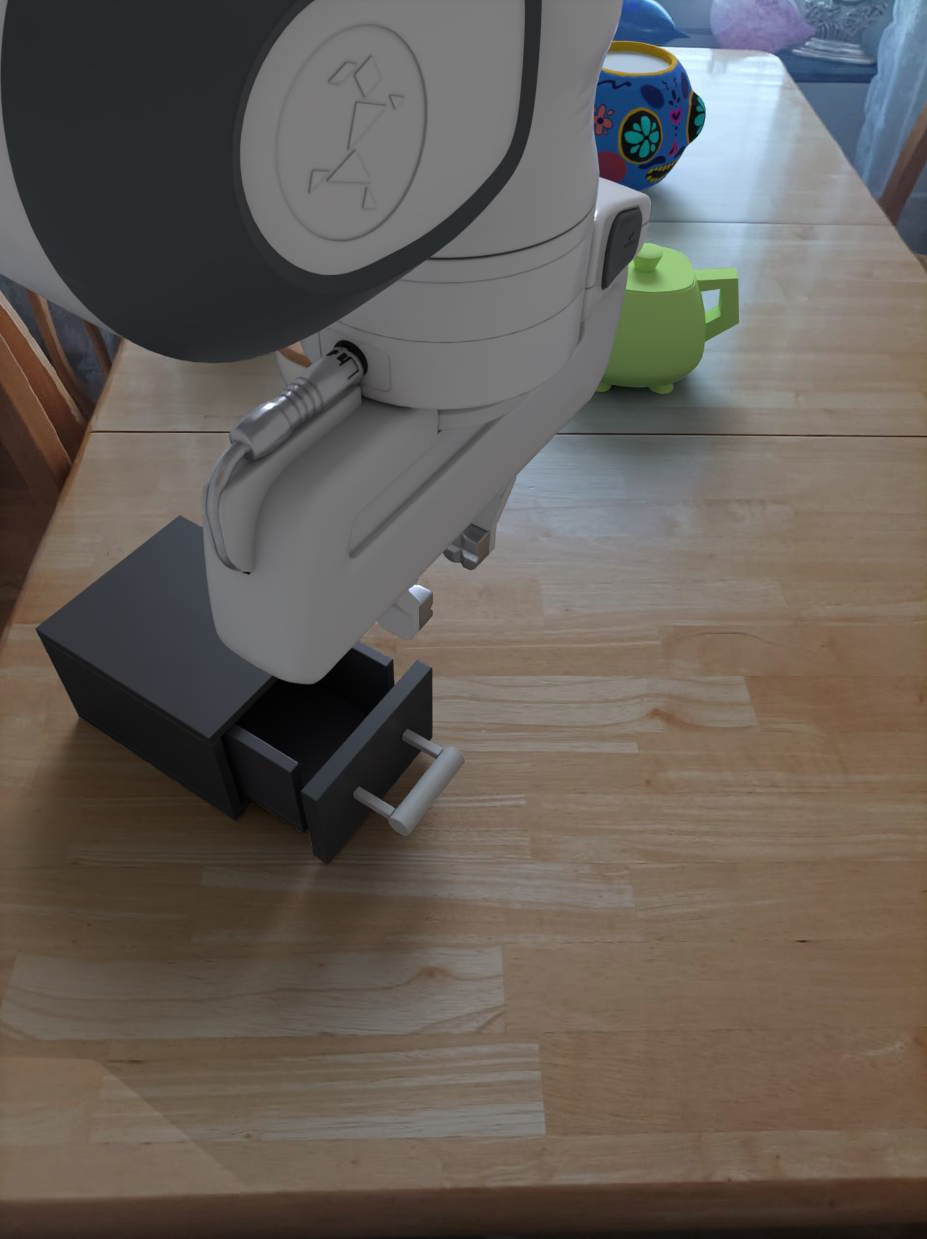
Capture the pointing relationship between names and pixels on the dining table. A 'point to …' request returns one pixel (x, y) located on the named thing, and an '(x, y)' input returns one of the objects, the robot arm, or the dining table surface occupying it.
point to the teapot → (667, 319)
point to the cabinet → (158, 664)
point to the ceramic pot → (643, 114)
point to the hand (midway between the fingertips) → (437, 588)
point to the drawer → (341, 749)
